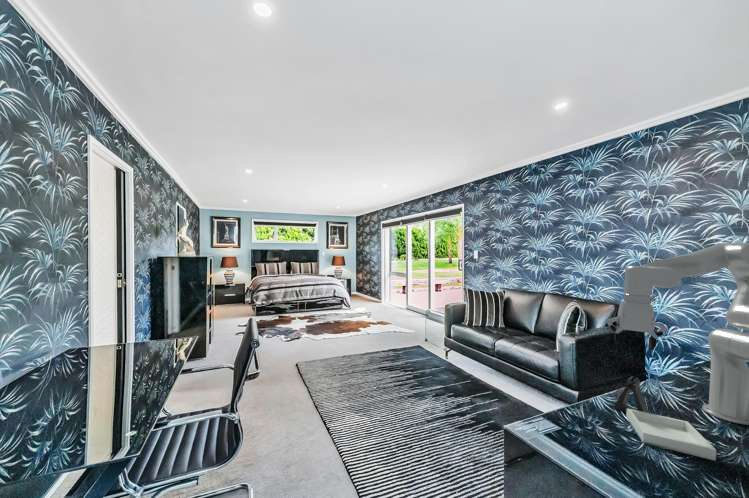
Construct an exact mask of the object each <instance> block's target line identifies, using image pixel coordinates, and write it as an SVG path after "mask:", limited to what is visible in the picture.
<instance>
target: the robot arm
mask: <svg viewBox="0 0 749 498" xmlns="http://www.w3.org/2000/svg"><path fill="white" fill-rule="evenodd" d="M724 268H728V271H729V272H730V274H731V275H732V277H733V279H734V280H735V283H736V286H737V288H736V289H737V290H736V292H735V295H734V297H733V299H732V301H731V303H730V305H729V307H728V309H727V312H726V313H725V320H726V322H727V324H729V325H730V326H731V327H734V328H737V329H740V330H744V331H739V330H735V329H730V328H716V329H714V330H711V332H710V333H709V334H708V336H707V337H708V338H707V343H708V348H709V352H710V353H709V354H710V373H709V374H710V375H709V391H708V393H709V394H708V395H709V396H708V397H709V398H708V403H706V404H703V405H702V410H703V411H704V412H706V413H707V414H709V415H711V416H714V417H716V418H718V419H721V420H724V421H728V422H730V423H735V424H740V425H747V426H749V365H748V363H747V362H749V333H748V332H745V331H749V242H722V243H716V244H714V245H711V246H707V247H705V248H702V249H700V250H696V251H693V252H691V253H687V254H681V255H677V256H673V257H668V258H667V257H666V258H662V259H658V260H654V261H650V262H648V263H645V264H642V265H629V266H626V268H625V270H624V271H625V272H624V287H623V288H624V290H623V301H620V304H619V306H618V311H617V316H614V317H610V318H608V319H606V320H605V321H606V323H607V325H608V327H609V328H610V330H612V332H614V333H613V335H614V339H613V341H614V342H615V343H616V344H617V345H621V338H622V337H621V336H622V335H621V332H622V331H623V330H626V331H632V332H633V331H634V332H641V333H647V334H649V337H648V348H649V349H650V350H652V351H654V350H655V348H656V347H657V339H659V338H660V337H661V336H663V335H664V333H665V332H666V330H667V329H668V327H667V326H664V325H663V324H661V323H658V322H656V320H655V312H654V307H653V305H652V303H653V302H654V303H656V301H657V299H656V298H655V297H652V287H654V288H661V289H670V288H674V287H677V286H678V285H679V284H680V282H681V281H682V277H683V278H684V277H685V278H688V277H690V278H691V277H697V276H699V277H700V276H704V275H707V274H710V273H712V272H716V271H719V270H722V269H724ZM615 322H616V325H617V326H616V327H615V326H614V324H613V323H615ZM656 327H657V328H659V329H658V330H657V331H655V329H656Z"/></svg>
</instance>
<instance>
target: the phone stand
mask: <svg viewBox="0 0 749 498" xmlns="http://www.w3.org/2000/svg"><path fill="white" fill-rule="evenodd" d="M633 378H634V376H630V377H629V378H628V379H626V380H625V387H624V389H623V391H622V392H621V394H620V396H619V398H618V399H617V401H616V403H615V405H614V406H613V408H614V409H615V410H618V411H622V412H624V413H627V408H628V409H632V410H637V411H642V412H646V413H650V411H649V408H648V406H647V403H646V400H645V398H644V394H643V393H642V392H643V391H642V390H641V385H640V383H641V381H640V379H639V377H635V378H634V379H633ZM632 379H633V380H632ZM631 391H632V395H633V398H634V402H635V406H636V408H634V407H632V406H629V405H626V401H627V400H628V397H629V394H630V392H631Z"/></svg>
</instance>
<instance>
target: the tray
mask: <svg viewBox="0 0 749 498" xmlns="http://www.w3.org/2000/svg"><path fill="white" fill-rule="evenodd" d="M625 413H626V412H625ZM625 418H627V420H628V422H629V424H630V425H631V427H632V429H634V431H635V433H636V434H637V435H638V438H639V439H640V440H641V442H642V443H643V444H646V445H651V446H655V447H659V448H663V449H666V450H667V449H668V450H672V451H674V452H678V453H683V454H686V455H691V456H695V457H698V458H702V459H707V460H710V461H716V460H717V448H715V447H714V446H713V445H712V444H711V443H710V442H709V441H708V440H707V439H706V438H705V437H704V436H703V435H702V434H701V433H700V432H699V431H698V430H697V429H696V428H695V427H694V426H693V425H692V424H691V423H690V422H689V421H687V420H682V419H678V418H673V417H669V416H664V415H659V414H655V413H650V412H649V413H646V412H642V411H637V410H632V409H628V408H627V413H626V417H625Z"/></svg>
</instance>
